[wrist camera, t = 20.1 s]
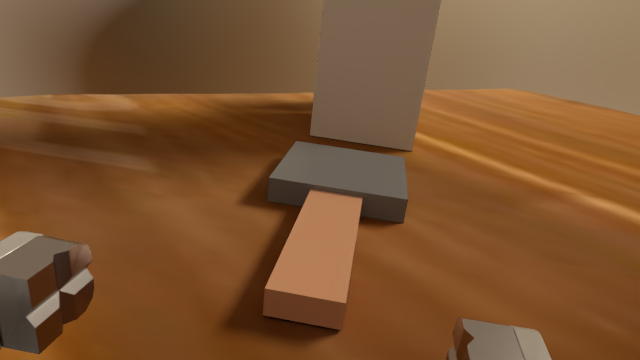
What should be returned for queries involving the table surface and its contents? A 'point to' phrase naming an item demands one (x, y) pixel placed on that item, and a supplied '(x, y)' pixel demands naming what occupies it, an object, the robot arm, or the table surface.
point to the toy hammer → (327, 225)
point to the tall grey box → (372, 70)
